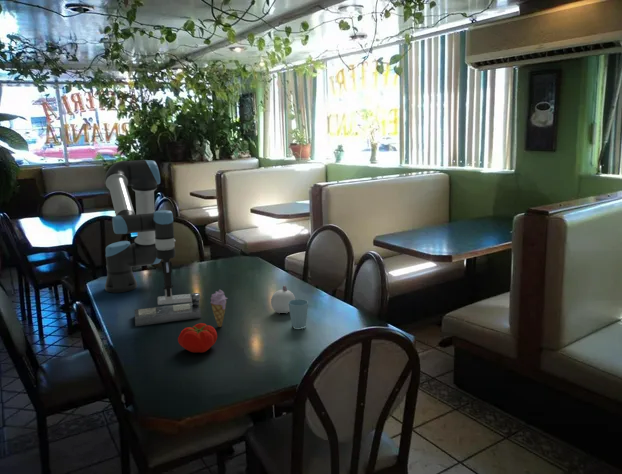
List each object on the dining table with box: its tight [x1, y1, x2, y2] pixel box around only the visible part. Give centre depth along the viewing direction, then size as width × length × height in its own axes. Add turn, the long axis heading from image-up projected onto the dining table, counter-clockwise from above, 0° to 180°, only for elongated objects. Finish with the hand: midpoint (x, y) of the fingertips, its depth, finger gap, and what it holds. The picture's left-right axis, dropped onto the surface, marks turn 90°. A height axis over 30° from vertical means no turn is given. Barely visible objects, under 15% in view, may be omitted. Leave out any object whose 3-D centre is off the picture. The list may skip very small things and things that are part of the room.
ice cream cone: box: [210, 289, 229, 328], centre depth 199 cm, size 7×6×15 cm
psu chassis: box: [134, 300, 202, 327], centre depth 211 cm, size 12×26×5 cm, turn 110°
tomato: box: [177, 322, 218, 353], centre depth 177 cm, size 14×13×9 cm
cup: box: [289, 298, 309, 328], centre depth 198 cm, size 8×8×10 cm
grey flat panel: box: [157, 292, 201, 306], centre depth 214 cm, size 6×18×2 cm, turn 105°
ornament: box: [270, 285, 296, 314], centre depth 214 cm, size 10×10×12 cm
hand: (169, 303), depth 210 cm, fingers closed
